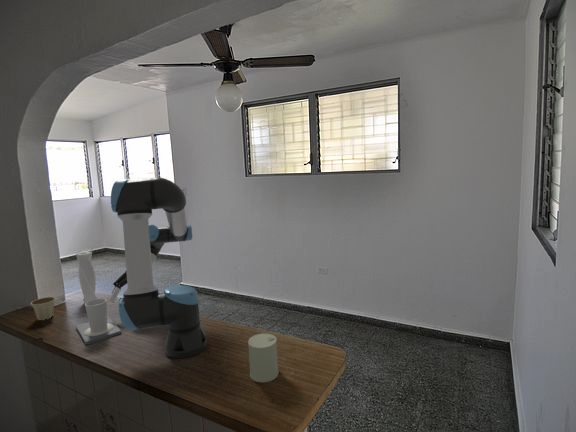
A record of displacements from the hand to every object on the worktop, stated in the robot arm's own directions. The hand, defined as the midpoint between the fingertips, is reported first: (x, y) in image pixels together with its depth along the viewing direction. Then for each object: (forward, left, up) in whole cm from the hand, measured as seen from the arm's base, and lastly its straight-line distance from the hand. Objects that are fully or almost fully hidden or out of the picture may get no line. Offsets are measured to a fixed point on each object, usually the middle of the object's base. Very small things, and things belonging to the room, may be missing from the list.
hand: (121, 304), depth 153 cm
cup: (-4, +10, -7) cm, 13 cm away
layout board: (-2, +10, -8) cm, 13 cm away
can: (-77, -22, -9) cm, 80 cm away
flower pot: (+32, +25, -9) cm, 42 cm away
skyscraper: (+42, +4, -9) cm, 44 cm away
